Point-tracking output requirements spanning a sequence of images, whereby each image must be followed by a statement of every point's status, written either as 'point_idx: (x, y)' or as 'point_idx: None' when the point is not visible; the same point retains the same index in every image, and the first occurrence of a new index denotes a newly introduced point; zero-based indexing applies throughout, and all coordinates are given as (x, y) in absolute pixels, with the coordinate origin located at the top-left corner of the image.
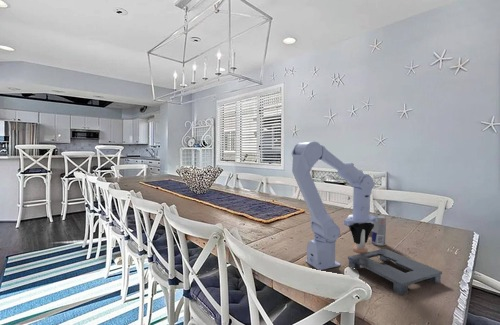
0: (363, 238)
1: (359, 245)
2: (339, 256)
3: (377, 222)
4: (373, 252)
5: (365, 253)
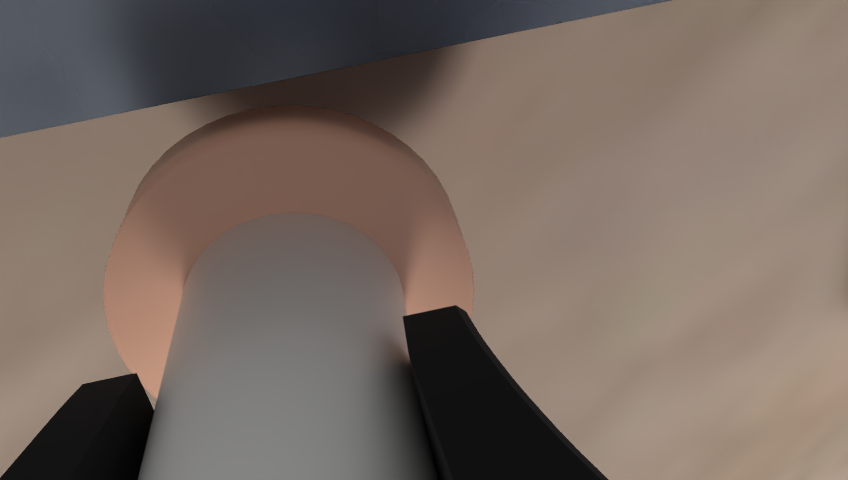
0: (264, 442)
1: (386, 300)
2: (610, 316)
3: None
4: (28, 48)
5: (321, 32)
